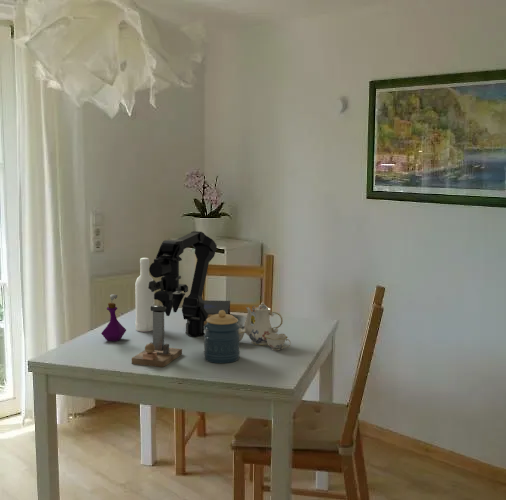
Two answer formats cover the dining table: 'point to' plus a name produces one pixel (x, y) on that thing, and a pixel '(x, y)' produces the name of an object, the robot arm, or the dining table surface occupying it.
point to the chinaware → (263, 329)
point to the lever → (158, 326)
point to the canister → (221, 338)
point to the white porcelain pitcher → (252, 318)
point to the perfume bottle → (113, 324)
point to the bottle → (144, 298)
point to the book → (216, 307)
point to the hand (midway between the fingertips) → (171, 314)
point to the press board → (159, 358)
